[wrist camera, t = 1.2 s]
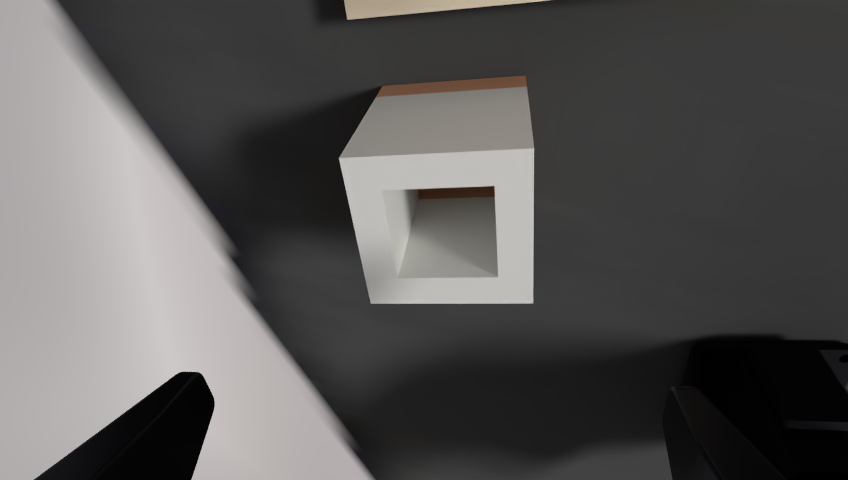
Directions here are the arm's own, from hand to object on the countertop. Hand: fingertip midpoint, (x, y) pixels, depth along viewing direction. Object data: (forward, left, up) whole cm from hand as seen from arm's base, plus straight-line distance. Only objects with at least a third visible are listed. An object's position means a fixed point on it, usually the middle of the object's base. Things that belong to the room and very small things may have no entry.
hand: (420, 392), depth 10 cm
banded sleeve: (0, 0, -12) cm, 12 cm away
